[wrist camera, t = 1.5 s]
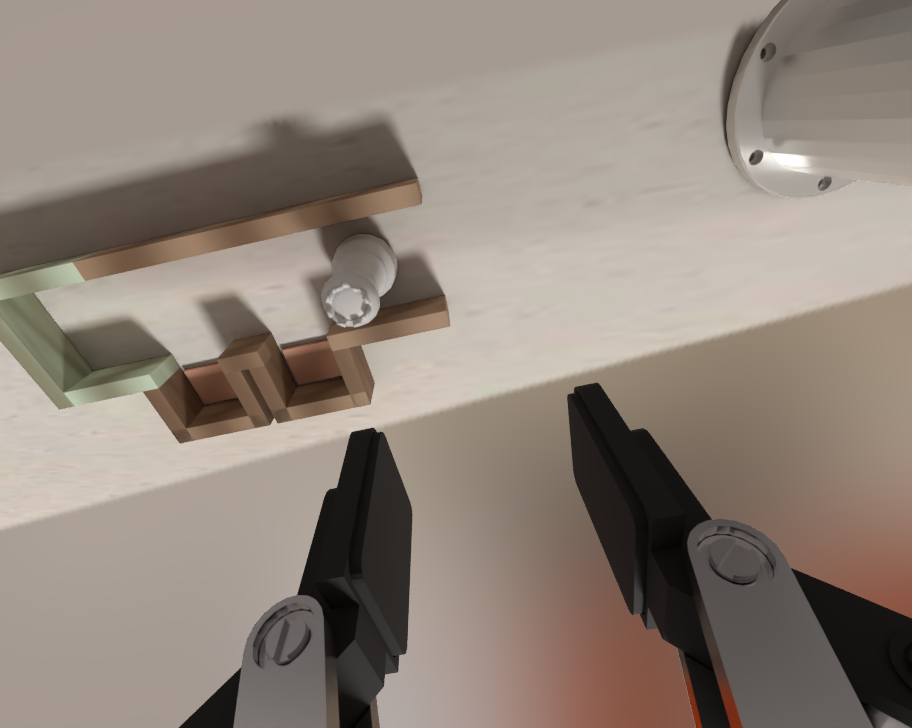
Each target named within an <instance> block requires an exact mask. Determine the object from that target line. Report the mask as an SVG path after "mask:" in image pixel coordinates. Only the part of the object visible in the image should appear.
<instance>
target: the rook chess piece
mask: <svg viewBox="0 0 912 728" xmlns="http://www.w3.org/2000/svg"><path fill="white" fill-rule="evenodd" d="M332 272H333V276H331V277H330V278H329V279H328V281H327V282H326V283H325V284H324V286H323V289H322V292H321V301H322V306H323V308H324V310H325V312H326V314H327V315H328V317H329V319H330V318H332V319H333V320H334V321H335V322H336V323H337V324H336V325H339V326H342V327H346V326H347V327H354V328H355V327H359V326H362V325H364V324H367V323H369V322H370V321H371V320H372V319H373V318H374V317H375V316H376V315H377V312H378V310H379V307H380V298H379V297H381V296H383V295H384V294H385V293H386V292H387V291H388V290H389V289H390V288H391V287H392V285H393V283H394V281H395V278H396V276H397V273H398V272H397V259H396V257H395V255H394V253H393V250H392V249H391V248H390V247H389V246H388V245H387V244H386V243H385V242H384V241H383V240H382V239H379V238H377V237H375V236H373V235H370V234H356V235H353V236H351V237H348V238H346V239H345V240H344V241H343V242H342V243H341V244H340V245H339V246H338V247H337V249H336V251H335V254H334V257H333V260H332Z"/></svg>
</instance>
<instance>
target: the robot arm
mask: <svg viewBox="0 0 912 728" xmlns="http://www.w3.org/2000/svg"><path fill="white" fill-rule="evenodd" d="M760 54H761V55H760ZM726 129H727V139H728V147H729V150H730V153H731V156H732V159H733V162H734V164H735V166H736V167H737V169H738V170H739V172H740V174H741V175H742V177H743V178H745V179H746V180H747V181H748V182H749V183H750V184H751V185H752V186H753V187H755V188H757V189H759V190H761V191H763V192H765V193H767V194H771V195H775V196H779V197H785V198H794V199H803V198H812V197H818V196H822V195H825V194H828V193H832V192H835V191H837V190H839V189H841V188H843V187H846V186H848V185H850V184H852V183H854V182H856V181H857V180H861V181H869V182H877V183H885V184H893V185H901V186H908V187H912V0H781V1H780V2H779V3H778V4H777V5H776V6H775V7H774V8H773V10H772V11H771V12H770V14H769V15H768V17H767V18H766V19H765V21H764V22H763V23H762V25H761V26H760V27H759V29H758V30H757V32H756V33H755V35H754V37H753V39H752V41H751V43H750V44H749V46H748V48H747V50H746V52H745V53H744V55H743V58H742V60H741V63H740V65H739V68H738V70H737V73H736V75H735V78H734V81H733V85H732V89H731V93H730V97H729V102H728V109H727V122H726ZM567 400H568V411H569V424H570V436H571V447H572V460H573V471H574V477H575V481H576V484H577V486H578V489H579V491H580V494H581V496H582V499H583V501H584V503H585V506H586V508H587V511H588V513H589V515H590V518H591V520H592V523H593V525H594V527H595V530H596V532H597V534H598V537H599V539H600V542H601V544H602V546H603V549H604V551H605V554H606V556H607V559H608V561H609V564H610V565H611V568H612V571H613V573H614V576H615V578H616V580H617V583H618V585H619V588H620V590H621V592H622V595H623V597H624V600H625V602H626V604H627V607H628V609H629V611H630V613H631V614H632V615H634V614H640V616H641V618H642V620H643V622H644V625H645V627H646V629H647V630H648V629H653V628H658V629H659V632H660V634H661V636H662V638H663V639H664V640H665V641H667V642H669V643H670V644H672V645H674V646H675V647H677V650H678V654H679V658H680V663H681V667H682V671H683V676H684V680H685V684H686V688H687V692H688V697H689V701H690V705H691V709H692V713H693V718H694V722H695V726H696V728H912V619H911V618H909V617H907V616H904V615H902V614H899V613H897V612H895V611H892V610H890V609H888V608H885V607H883V606H880V605H878V604H876V603H873V602H871V601H868V600H866V599H864V598H861V597H859V596H857V595H854V594H852V593H849V592H847V591H845V590H842V589H840V588H837V587H835V586H833V585H830V584H828V583H826V582H823V581H821V580H818V579H816V578H814V577H811V576H809V575H806V574H804V573H802V572H799V571H797V570H794V569H792V568H790V566H789V564H788V562H787V560H786V558H785V556H784V555H783V553H782V552H781V551H780V549H779V548H778V546H777V545H776V544H775V543H774V542H773V541H772V540H770V539H769V538H768V537H767V536H766V535H765V534H763V533H762V532H760V531H758V530H756V529H755V528H753V527H751V526H749V525H746V524H743V523H740V522H737V521H733V520H725V519H716V520H712V519H711V518H710V516H709V515H708V514H707V512H706V511H705V509H704V508H703V507H702V506H701V504H700V503H699V501H698V500H697V498H696V497H695V496H694V494H693V493H692V491H691V490H690V489H689V487H688V486H687V485H686V484H685V482H684V480H683V479H682V478H681V476H680V475H679V473H678V472H677V471H676V469H675V468H674V467H673V465H672V464H671V462H670V461H669V460H668V458H667V457H666V455H665V454H664V453H663V451H662V450H661V449H660V447H659V446H658V445H657V443H656V442H655V440H654V439H653V438H652V436H651V435H650V434H649V432H648V431H647V430H645V429H643V428H642V429H637V430H632V431H630V430H629V428H628V427H627V425H626V424H625V422H624V420H623V419H622V417H621V416H620V415H619V413H618V411H617V410H616V408H615V407H614V405H613V404H612V402H611V401H610V399H609V398H608V396H607V395H606V393H605V392H604V390H603V389H602V387H601V386H600V385H599V383H593V384H588V385H583V386H578V387H575V389H574V393H573V394H568V397H567ZM411 536H412V508H411V504H410V501H409V498H408V495H407V493H406V490H405V487H404V485H403V482H402V479H401V477H400V474H399V471H398V469H397V466H396V463H395V461H394V458H393V455H392V453H391V450H390V447H389V445H388V442H387V439H386V437H385V435H384V433H383V432H378V433H377V432H376V430H375V429H374V428H370V429H365V430H360V431H355V432H352V433H351V435H350V438H349V442H348V446H347V450H346V454H345V458H344V462H343V466H342V470H341V474H340V478H339V482H338V486H337V488H335V489H330V490H328V491H327V493H326V495H325V497H324V501H323V505H322V508H321V512H320V515H319V519H318V523H317V526H316V530H315V533H314V537H313V540H312V544H311V548H310V551H309V555H308V558H307V562H306V566H305V569H304V573H303V576H302V580H301V584H300V588H299V591H298V594H297V595H296V596H293V597H289V598H286V599H284V600H282V601H280V602H278V603H277V604H275V605H274V606H272V607H271V608H270V609H269V610H268V611H267V612H265V613H264V614H263V616H262V617H261V618H260V619H259V620H258V622H257V623H256V624H255V625H254V627H253V629H252V631H251V633H250V634H249V636H248V638H247V642H246V645H245V649H244V653H243V661H242V667H241V668H240V669H239V670H238V671H237V672H236V673H235V674H234V675H233V676H232V677H231V678H230V679H229V680H228V681H227V682H226V683H225V684H224V685H223V686H221V688H219V689H218V690H217V691H216V692H215V694H213V695H212V696H211V697H210V698H209V699H208V700H207V701H206V702H205V703H204V704H203V705H202V706H201V707H200V708H199V709H198V710H197V711H196V712H195V713H194V714H193V715H192V716H190V717H189V718H188V719H187V720H186V721H185V722H184V723H183V724H182V725H181V726H180V727H179V728H380V724H379V716H378V708H377V699H376V695H377V694H378V693H379V692H380V690H381V689H382V688H383V687H384V678H385V674H389V673H396V672H398V665H399V655H402V654H405V653H406V650H407V638H408V637H407V636H408V613H409V587H410V561H411Z"/></svg>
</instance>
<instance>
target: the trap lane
mask: <svg viewBox="0 0 912 728" xmlns="http://www.w3.org/2000/svg"><path fill="white" fill-rule="evenodd" d="M420 204H422V194H421V190H420V185H419V181H418V177H417V178H412V179H408V180H404V181H399V182H395V183H391V184H386V185H382V186H378V187H373V188H369V189H365V190H360V191H356V192H352V193H348V194H343V195H339V196H335V197H330V198H326V199H322V200H317V201H313V202H309V203H304V204H300V205H296V206H291V207H287V208H283V209H278V210H274V211H270V212H266V213H261V214H257V215H253V216H248V217H244V218H240V219H235V220H231V221H227V222H222V223H218V224H214V225H209V226H205V227H201V228H196V229H192V230H188V231H183V232H179V233H175V234H171V235H166V236H162V237H158V238H153V239H149V240H145V241H140V242H136V243H132V244H127V245H123V246H119V247H114V248H110V249H106V250H101V251H97V252H93V253H89V254H84V255H80V256H76V257H71V258H67V259H63V260H58V261H54V262H50V263H45V264H41V265H37V266H32V267H28V268H24V269H19V270H15V271H11V272H7V273H2V274H0V341H1V342H2V343H3V345H4V346H5V347H6V348H7V349H8V350H9V352H10V353H11V354H12V355H13V356H14V357H15V359H16V360H17V361H18V362H19V363H20V364H21V366H22V367H23V368H24V369H25V370H26V371H27V373H28V374H29V375H30V376H31V377H32V378H33V380H34V381H35V382H36V383H37V384H38V385H39V387H40V388H41V389H42V390H43V391H44V392H45V394H46V395H47V396H48V397H49V398H50V399H51V401H52V402H53V403H54V404H55V405H56V406H57V407H58V409H63V408H68V407H73V406H78V405H82V404H87V403H92V402H96V401H101V400H106V399H111V398H115V397H120V396H125V395H129V394H134V393H139V392H144V394H145V395H146V397H147V398H148V399H149V401H150V402H151V404H152V405H153V407H154V408H155V409H156V411H157V412H158V414H159V415H160V416H161V418H162V419H163V421H164V422H165V423H166V425H167V426H168V428H169V429H170V430H171V432H172V433H173V435H174V436H175V437H176V439H177V440H178V442H179V443H184V442H189V441H194V440H199V439H204V438H209V437H214V436H219V435H223V434H228V433H233V432H238V431H243V430H248V429H253V428H258V427H262V426H267V425H270V424H271V422H272V421H273V419H274V418H275V419H276V421H277V423H282V422H287V421H292V420H297V419H301V418H306V417H311V416H316V415H321V414H326V413H331V412H336V411H340V410H345V409H350V408H355V407H360V406H365V405H370V403H371V399H372V394H373V389H374V384H375V383H374V380H373V377H372V375H371V372H370V369H369V366H368V364H367V361H366V358H365V355H364V353H363V350H362V347H361V345H365V344H369V343H374V342H379V341H383V340H388V339H393V338H398V337H402V336H407V335H412V334H416V333H421V332H426V331H430V330H435V329H440V328H445V327H449V326H450V321H449V312H448V306H447V302H446V298H445V295H443V296H438V297H434V298H429V299H425V300H420V301H415V302H411V303H406V304H401V305H397V306H392V307H388V308H383V309H379V310H378V312H377V315H376V316H375V317H374V318H373V319H372V320H371V321H370V322H369V323H367V324H364V325H362V326H359V327H355V328H354V327H347V326H346V327H342V326H339V325H336V324H337V323H336V322H335V321H333V323H332V326H331V328H330V330H329V332H328V334H327V336H326V337H327V340H322V341H318V342H313V343H308V344H304V345H299V346H294V347H290V348H285V349H283V350H282V352H283V354H284V356H285V358H286V360H287V362H288V365H289V367H290V369H291V371H292V373H293V375H294V377H295V379H296V381H297V383H298V385H299V384H304V383H309V382H313V381H318V380H323V379H328V378H333V377H337V376H343V377H340V378H335V379H330V380H326V381H321V382H316V383H311V384H306V385H302V386H297V385H296V383H295V381H294V379H293V377H292V375H291V373H290V371H289V369H288V367H287V365H286V362H285V360H284V358H283V356H282V354H281V352H280V350H279V348H278V346H277V344H276V342H275V339H274V337H273V335H272V333H267V334H263V335H258V336H254V337H249V338H244V339H240V340H235V341H233V342H232V343H231V344H230V345H229V347H228V348H227V349H226V350H225V351H224V352H223V353H222V354H221V355H220V356H219V358H218V359H217V362H218V363H215V364H210V365H206V366H201V367H196V368H192V369H187V370H185V371H184V373H185V374H186V376H187V377H186V376H185V374H184V373H183V371H182V370H181V368H180V366H179V365H178V363H177V362H176V360H175V358H174V357H173V355H172V354H170V355H166V356H161V357H157V358H152V359H147V360H143V361H138V362H134V363H129V364H124V365H120V366H115V367H110V368H106V369H101V370H97V371H92V370H91V368H90V367H89V366H88V364H87V363H86V362H85V360H84V359H83V358H82V357H81V355H80V354H79V353H78V351H77V350H76V349H75V347H74V346H73V345H72V343H71V342H70V341H69V339H68V338H67V337H66V336H65V334H64V333H63V332H62V330H61V329H60V328H59V326H58V325H57V324H56V322H55V321H54V320H53V318H52V317H51V316H50V315H49V313H48V312H47V311H46V309H45V308H44V307H43V305H42V304H41V303H40V301H39V300H38V299H37V297H36V296H35V295H34V294H33V293H34V292H39V291H43V290H47V289H52V288H56V287H61V286H65V285H69V284H74V283H78V282H83V281H87V280H91V279H96V278H100V277H104V276H109V275H113V274H118V273H122V272H126V271H131V270H135V269H139V268H144V267H148V266H153V265H157V264H161V263H166V262H170V261H175V260H179V259H183V258H188V257H192V256H196V255H201V254H205V253H210V252H214V251H218V250H223V249H227V248H231V247H236V246H240V245H245V244H249V243H253V242H258V241H262V240H266V239H271V238H275V237H280V236H284V235H288V234H293V233H297V232H302V231H306V230H310V229H315V228H319V227H323V226H328V225H332V224H337V223H341V222H345V221H350V220H354V219H358V218H363V217H367V216H372V215H376V214H380V213H385V212H389V211H394V210H398V209H402V208H407V207H411V206H415V205H420ZM187 378H188V379H189V381H190V382H191V384H192V385H193V387H194V388H193V387H192V385H191V384H190V382H189V381H188V379H187ZM194 389H195V390H196V392H197V393H198V395H199V396H198V395H197V393H196V392H195V390H194ZM199 397H200V398H201V400H202V401H203V403H204V404H208V403H213V402H218V401H223V400H227V399H232V398H237V397H238V399H235V400H230V401H225V402H220V403H216V404H211V405H206V406H204V404H203V403H202V401H201V400H200V398H199Z"/></svg>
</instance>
